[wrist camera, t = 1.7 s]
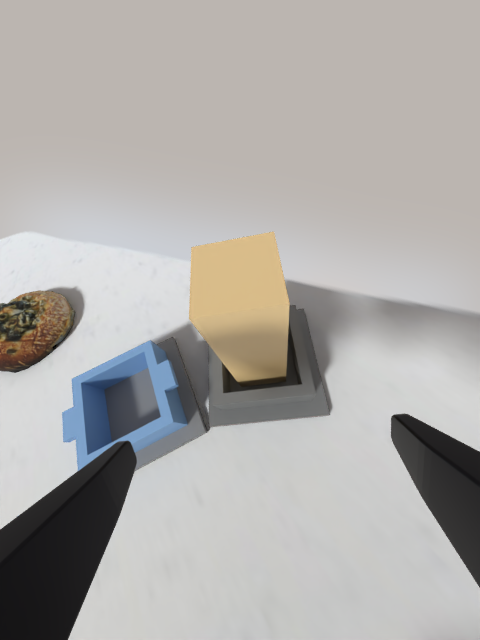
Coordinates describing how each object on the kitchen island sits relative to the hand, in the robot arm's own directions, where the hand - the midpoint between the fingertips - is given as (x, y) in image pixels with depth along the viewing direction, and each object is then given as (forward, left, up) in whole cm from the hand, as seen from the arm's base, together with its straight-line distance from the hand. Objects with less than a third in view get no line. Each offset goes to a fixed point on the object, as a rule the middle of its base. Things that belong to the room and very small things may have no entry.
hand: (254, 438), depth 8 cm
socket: (+5, +4, -12) cm, 14 cm away
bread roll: (-5, +31, -13) cm, 34 cm away
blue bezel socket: (-4, +12, -12) cm, 18 cm away
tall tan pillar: (+5, +4, -12) cm, 13 cm away
